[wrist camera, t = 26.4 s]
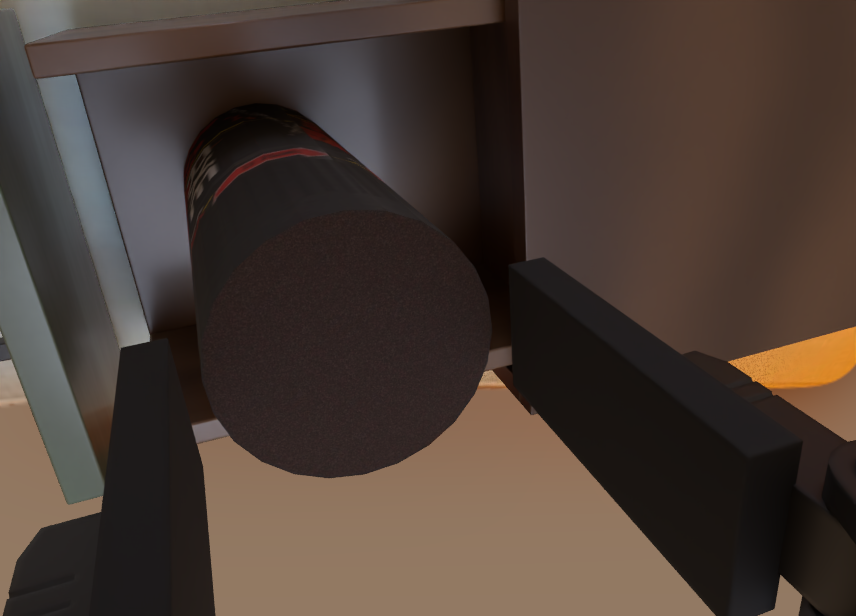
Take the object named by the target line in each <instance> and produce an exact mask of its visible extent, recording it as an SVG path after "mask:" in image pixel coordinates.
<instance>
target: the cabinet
mask: <svg viewBox="0 0 856 616" xmlns="http://www.w3.org/2000/svg"><path fill="white" fill-rule="evenodd" d="M505 23H506V48H507V74H508V99H509V125H510V150H511V175H512V201H513V226H514V252H515V263H518V262H523V261H528V260H532V259H537V258H542V257H544V258H546V259H547V260H549V261H550V262H551V263H553V264H554V265H556V266H557V267H559V268H560V269H561V270H563V271H564V272H566V273H567V274H568V275H570V276H571V277H573V278H574V279H575V280H577V281H578V282H580V283H581V284H583V285H584V286H585V287H587V288H588V289H590V290H591V291H592V292H594V293H595V294H597V295H598V296H600V297H601V298H602V299H604V300H605V301H607V302H608V303H609V304H611V305H612V306H614V307H615V308H616V309H618V310H619V311H621V312H622V313H624V314H625V315H626V316H628V317H629V318H631V319H632V320H633V321H635V322H636V323H638V324H639V325H640V326H642V327H643V328H645V329H646V330H648V331H649V332H650V333H652V334H653V335H655V336H656V337H657V338H659V339H660V340H662V341H663V342H665V343H666V344H667V345H669V346H670V347H672V348H673V349H674V350H676V351H677V352H679V353H680V354H684V353H688V352H692V351H698V352H701V353H704V354H706V355H709V356H712V357H715V358H718V359H721V360H723V361H726V362H727V361H731V360H735V359H738V358H742V357H746V356H749V355H753V354H757V353H760V352H764V351H768V350H771V349H775V348H779V347H782V346H786V345H789V344H793V343H797V342H800V341H804V340H808V339H811V338H815V337H819V336H822V335H826V334H830V333H833V332H837V331H841V330H844V329H848V328H852V327H855V326H856V0H505ZM492 370H493V372H494V373H495V374H496V375H497V376H498V377H499V379H500V380H501V381H502V382H503V383H504V384H505V385H506V387H507V388H508V389H509V390H510V391H511V392H512V394H513V395H514V396H515V397H516V398H517V399H518V401H520V403H521V404H522V405H523V406H524V407H525V409H526V410H527V411H528V412H529V413H530V414H531V415H534V414H538V413H537V412H536V411H535V410H534V408H533V407H532V406H531V405H530V404H529V403H528V402H527V400H526V399H525V398H524V397H523V396H522V395H521V394H520V392H519V391H518V390H517V389H516V388H515V387H514V386H513V370H512V365H508V366H504V367H500V368H496V369H492Z"/></svg>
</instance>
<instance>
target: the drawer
mask: <svg viewBox="0 0 856 616" xmlns="http://www.w3.org/2000/svg"><path fill="white" fill-rule="evenodd" d="M73 74H75V75H76V78H77V82H78V85H79V89H80V92H81V96H82V99H83V103H84V106H85V110H86V113H87V117H88V120H89V124H90V127H91V131H92V134H93V138H94V141H95V145H96V148H97V152H98V155H99V159H100V162H101V166H102V169H103V173H104V176H105V180H106V183H107V187H108V190H109V194H110V197H111V200H112V204H113V207H114V211H115V214H116V218H117V221H118V225H119V228H120V232H121V235H122V239H123V242H124V246H125V249H126V253H127V256H128V260H129V263H130V267H131V270H132V274H133V277H134V281H135V284H136V288H137V291H138V295H139V298H140V302H141V305H142V309H143V312H144V316H145V319H146V323H147V326H148V330H149V333H150V342H151V341H155V340H160V339H165V338H168V341H169V345H170V349H171V352H172V356H173V359H174V363H175V367H176V370H177V374H178V378H179V381H180V385H181V388H182V392H183V396H184V399H185V403H186V407H187V410H188V414H189V417H190V421H191V425H192V428H193V432H194V436H195V439H196V443H197V444H199V443H203V442H207V441H211V440H215V439H219V438H223V437H227V436H230V435H229V434H228V433H227V431H226V430H225V429H224V427H223V426H222V425H221V423H220V422H219V421H218V419H217V418H216V417H215V415H214V414H213V411H212V408H211V406H210V403H209V400H208V397H207V394H206V391H205V388H204V385H203V382H202V378H201V367H200V356H199V346H198V335H197V324H196V313H195V303H194V292H193V281H192V270H191V260H190V249H189V238H188V228H187V217H186V206H185V195H184V167H185V163H186V159H187V155H188V152H189V149H190V147H191V146H192V144H193V142H194V141H195V139H196V137H197V136H198V134H199V132H200V131H201V130H202V129H204V128H205V127H206V126H207V125H208V124H209V123H210V122H211V121H212V120H213V119H214V118H215V117H217V116H219V115H221V114H223V113H225V112H227V111H229V110H231V109H233V108H235V107H240V106H245V105H249V104H254V103H261V104H277V105H280V106H283V107H286V108H289V109H292V110H295V111H298V112H299V113H301V114H302V115H304V116H305V117H307V118H308V119H310V120H311V121H313V122H314V123H316V124H317V125H318V126H319V127H320V128H321V129H323V130H324V131H325V132H326V133H327V134H328V135H330V136H331V137H332V138H333V139H334V140H335V141H337V142H338V143H339V144H340V145H341V146H342V147H344V148H345V149H346V150H347V151H348V152H349V153H351V154H352V155H353V156H354V157H355V158H356V159H358V160H359V161H360V162H361V163H362V164H363V165H365V166H366V167H367V168H368V169H369V170H370V171H372V172H373V173H374V174H375V175H376V176H377V177H379V178H380V179H381V180H382V181H383V182H384V183H386V184H387V185H388V186H389V187H390V188H391V189H393V190H394V191H395V192H396V193H397V194H398V195H400V196H401V197H402V198H403V199H404V200H405V201H407V202H408V203H409V204H410V205H411V206H413V207H414V208H415V209H416V210H417V211H418V212H420V213H421V214H422V215H423V216H424V217H425V218H427V219H428V220H429V221H430V222H431V223H432V224H434V225H435V226H436V227H437V228H438V229H439V230H441V231H442V232H443V233H444V234H445V235H446V236H448V237H449V238H450V239H451V240H452V241H453V242H454V243H455V244H456V245H457V247H458V248H459V249H460V250H461V251H462V252H463V254H464V255H465V256H466V257H467V258H468V260H469V261H470V262H471V263H472V264H473V265H474V267H475V268H476V271H477V273H478V275H479V277H480V280H481V282H482V284H483V286H484V289H485V291H486V293H487V296H488V300H489V308H490V316H491V324H492V335H491V342H490V349H489V356H488V363H487V365H486V368H485V370H484V372H485V371H489V370H492V369H496V368H500V367H504V366H508V365H512V345H511V321H510V296H509V271H508V265H509V264H514V263H515V252H514V226H513V201H512V175H511V150H510V125H509V99H508V74H507V48H506V23H505V0H340V1H331V2H322V3H312V4H303V5H293V6H284V7H274V8H265V9H256V10H246V11H237V12H227V13H218V14H208V15H199V16H190V17H180V18H171V19H161V20H152V21H142V22H133V23H123V24H114V25H105V26H95V27H86V28H76V29H67V30H65V31H62V32H59V33H56V34H53V35H50V36H48V37H45V38H42V39H39V40H36V41H33V42H31V43H28V44H26V45H25V43H24V39H23V36H22V33H21V30H20V26H19V23H18V20H17V17H16V13H15V11H14V9H0V331H1V333H2V336H3V337H2V338H0V361H5V360H10V359H12V362H13V365H14V367H15V370H16V372H17V375H18V378H19V380H20V383H21V385H22V388H23V391H24V393H25V396H26V398H27V401H28V404H29V406H30V409H31V411H32V414H33V417H34V419H35V422H36V424H37V427H38V429H39V432H40V435H41V437H42V440H43V442H44V445H45V448H46V450H47V453H48V455H49V458H50V460H51V463H52V466H53V468H54V471H55V473H56V476H57V479H58V481H59V484H60V486H61V489H62V492H63V494H64V497H65V500H66V502H67V504H74V503H77V502H81V501H85V500H89V499H93V498H96V497H100V496H103V493H104V485H105V476H106V468H107V459H108V451H109V442H110V434H111V426H112V417H113V409H114V400H115V392H116V384H117V375H118V367H119V358H120V350H119V346H118V343H117V340H116V337H115V333H114V330H113V327H112V324H111V320H110V317H109V314H108V311H107V308H106V304H105V301H104V298H103V295H102V291H101V288H100V285H99V282H98V278H97V275H96V272H95V269H94V266H93V262H92V259H91V256H90V253H89V249H88V246H87V243H86V240H85V236H84V233H83V230H82V227H81V224H80V220H79V217H78V214H77V211H76V207H75V204H74V201H73V198H72V194H71V191H70V188H69V185H68V182H67V178H66V175H65V172H64V169H63V165H62V162H61V159H60V156H59V152H58V149H57V146H56V143H55V139H54V136H53V133H52V130H51V127H50V123H49V120H48V117H47V114H46V110H45V107H44V104H43V101H42V97H41V94H40V91H39V88H38V85H37V81H36V79H40V78H49V77H57V76H65V75H73Z"/></svg>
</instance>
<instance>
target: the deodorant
mask: <svg viewBox="0 0 856 616" xmlns="http://www.w3.org/2000/svg"><path fill="white" fill-rule="evenodd" d="M184 195H185V206H186V217H187V228H188V238H189V249H190V260H191V270H192V281H193V292H194V303H195V313H196V324H197V335H198V346H199V356H200V367H201V378H202V382H203V385H204V388H205V391H206V394H207V397H208V400H209V403H210V406H211V408H212V411H213V414H214V415H215V417H216V418H217V419H218V421H219V422H220V423H221V425H222V426H223V427H224V429H225V430H226V431H227V433H228V434H229V435H230V437H231V438H232V439H233V441H234V442H236V443H237V444H238V445H240V446H241V447H243V448H244V449H245V450H247V451H248V452H249V453H251V454H252V455H253V456H255V457H256V458H258V459H259V460H260V461H262V462H264V463H267V464H269V465H272V466H275V467H277V468H280V469H282V470H285V471H288V472H290V473H293V474H298V475H307V476H315V477H324V478H335V477H344V476H353V475H363V474H367V473H370V472H373V471H376V470H379V469H382V468H385V467H387V466H391V465H394V464H397V463H399V462H401V461H403V460H404V459H406V458H408V457H409V456H411V455H413V454H415V453H416V452H418V451H420V450H422V449H423V448H425V447H427V446H428V445H430V444H431V443H432V442H433V441H434V440H435V439H436V438H437V437H439V436H440V435H441V434H442V433H443V432H444V431H445V430H446V429H447V428H448V427H449V426H451V425H452V424H453V423H454V422H455V421H456V419H457V418H458V416H459V415H460V414H461V412H462V411H463V410H464V408H465V407H466V405H467V404H468V403H469V401H470V400H471V398H472V397H473V396H474V394H475V392H476V390H477V387H478V385H479V382H480V380H481V377H482V375H483V372H484V370H485V368H486V365H487V363H488V356H489V349H490V342H491V335H492V324H491V316H490V308H489V300H488V296H487V293H486V291H485V289H484V286H483V284H482V282H481V280H480V277H479V275H478V273H477V271H476V268H475V267H474V265H473V264H472V263H471V262H470V261H469V260H468V258H467V257H466V256H465V255H464V254H463V252H462V251H461V250H460V249H459V248H458V247H457V245H456V244H455V243H454V242H453V241H452V240H451V239H450V238H449V237H448V236H446V235H445V234H444V233H443V232H442V231H441V230H439V229H438V228H437V227H436V226H435V225H434V224H432V223H431V222H430V221H429V220H428V219H427V218H425V217H424V216H423V215H422V214H421V213H420V212H418V211H417V210H416V209H415V208H414V207H413V206H411V205H410V204H409V203H408V202H407V201H405V200H404V199H403V198H402V197H401V196H400V195H398V194H397V193H396V192H395V191H394V190H393V189H391V188H390V187H389V186H388V185H387V184H386V183H384V182H383V181H382V180H381V179H380V178H379V177H377V176H376V175H375V174H374V173H373V172H372V171H370V170H369V169H368V168H367V167H366V166H365V165H363V164H362V163H361V162H360V161H359V160H358V159H356V158H355V157H354V156H353V155H352V154H351V153H349V152H348V151H347V150H346V149H345V148H344V147H342V146H341V145H340V144H339V143H338V142H337V141H335V140H334V139H333V138H332V137H331V136H330V135H328V134H327V133H326V132H325V131H324V130H323V129H321V128H320V127H319V126H318V125H317V124H316V123H314V122H313V121H311V120H310V119H308V118H307V117H305V116H304V115H302V114H301V113H299V112H298V111H295V110H292V109H289V108H286V107H283V106H280V105H277V104H261V103H254V104H249V105H245V106H240V107H235V108H233V109H231V110H229V111H227V112H225V113H223V114H221V115H219V116H217V117H215V118H214V119H213V120H212V121H211V122H210V123H209V124H208V125H207V126H206V127H205V128H204V129H202V130H201V131H200V132H199V134H198V136H197V137H196V139H195V141H194V142H193V144H192V146H191V147H190V149H189V152H188V155H187V159H186V163H185V167H184Z"/></svg>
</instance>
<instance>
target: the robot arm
mask: <svg viewBox="0 0 856 616" xmlns="http://www.w3.org/2000/svg"><path fill="white" fill-rule="evenodd" d="M508 271H509V296H510V321H511V345H512V370H513V386H514V387H515V388H516V389H517V390H518V391H519V392H520V394H521V395H522V396H523V397H524V398H525V399H526V400H527V402H528V403H529V404H530V405H531V406H532V407H533V408H534V410H535V411H536V412H537V413H538V414H539V415H540V416H541V417H542V418H543V420H544V421H545V422H546V423H547V424H548V425H549V427H550V428H551V429H552V430H553V431H554V432H555V433H556V434H557V436H558V437H559V438H560V439H561V440H562V441H563V442H564V444H565V445H566V446H567V447H568V448H569V449H570V450H571V452H572V453H573V454H574V455H575V456H576V457H577V458H578V460H579V461H580V462H581V463H582V464H583V465H584V466H585V467H586V468H587V470H588V471H589V472H590V473H591V474H592V475H593V477H594V478H595V479H596V480H597V481H598V482H599V483H600V484H601V486H602V487H603V488H604V489H605V490H606V491H607V492H608V494H609V495H610V496H611V497H612V498H613V499H614V500H615V502H616V503H617V504H618V505H619V506H620V507H621V508H622V510H623V511H624V512H625V513H626V514H627V515H628V516H629V517H630V519H631V520H632V521H633V522H634V523H635V524H636V525H637V527H638V528H640V530H641V531H642V532H643V533H644V534H645V536H646V537H647V538H648V539H649V540H650V541H651V542H652V544H653V545H654V546H655V547H656V548H657V549H658V550H659V551H660V553H661V554H662V555H663V556H664V557H665V558H666V560H667V561H668V562H669V563H670V564H671V565H672V566H673V567H674V569H675V570H677V572H678V573H679V574H680V575H681V577H682V578H683V579H684V580H685V581H686V582H687V583H688V584H689V586H690V587H691V588H692V589H693V590H694V591H695V592H696V594H697V595H698V596H699V597H700V598H701V599H702V600H703V602H704V603H705V604H706V605H707V606H708V607H709V608H710V610H711V611H712V612H713V613H714V614H715V615H716V616H758V615H760V614H763V613H765V612H768V611H771V610H773V609H774V608H775V603H776V597H777V591H778V585H779V579H780V575H782V576H783V577H784V578H785V579H786V580H787V581H788V582H789V583H790V584H791V585H792V586H793V587H794V588H795V589H796V590H797V591H798V592H799V593H800V594H801V595H802V601H801V606H800V611H799V616H856V440H854V441H850V442H847V441H846V440H844V439H842V438H841V437H839V436H838V435H837V434H835V433H833V432H832V431H831V430H829V429H828V428H826V427H824V426H823V425H822V424H820V423H818V422H817V421H816V420H814V419H812V418H811V417H810V416H808V415H806V414H805V413H804V412H802V411H801V410H799V409H797V408H796V407H794V406H793V405H791V404H790V403H788V402H787V401H785V400H784V399H782V398H781V397H779V396H778V395H775V396H773V395H772V391H770V390H769V389H767V388H766V387H764V386H763V385H761V384H760V383H758V382H757V381H755V382H753V381H752V378H751V377H749V376H748V375H746V374H745V373H743V372H742V371H740V370H739V369H737V368H736V367H734V366H733V365H731V364H730V363H728V362H726V361H723V360H721V359H718V358H715V357H712V356H709V355H706V354H704V353H701V352H698V351H692V352H688V353H684V354H680V353H679V352H677V351H676V350H674V349H673V348H672V347H670V346H669V345H667V344H666V343H665V342H663V341H662V340H660V339H659V338H657V337H656V336H655V335H653V334H652V333H650V332H649V331H648V330H646V329H645V328H643V327H642V326H640V325H639V324H638V323H636V322H635V321H633V320H632V319H631V318H629V317H628V316H626V315H625V314H624V313H622V312H621V311H619V310H618V309H616V308H615V307H614V306H612V305H611V304H609V303H608V302H607V301H605V300H604V299H602V298H601V297H600V296H598V295H597V294H595V293H594V292H592V291H591V290H590V289H588V288H587V287H585V286H584V285H583V284H581V283H580V282H578V281H577V280H575V279H574V278H573V277H571V276H570V275H568V274H567V273H566V272H564V271H563V270H561V269H560V268H559V267H557V266H556V265H554V264H553V263H551V262H550V261H549V260H547V259H546V258H544V257H542V258H537V259H532V260H528V261H523V262H518V263H514V264H509V265H508ZM102 502H103V503H102V510H101V512H100V513H96V514H92V515H88V516H85V517H81V518H77V519H73V520H70V521H66V522H62V523H59V524H55V525H51V526H48V527H44V528H41V529H40V530H39V532H38V533H37V534H36V536H35V537H34V539H33V540H32V541H31V542H30V544H29V545H28V546H27V548H26V549H25V550H24V552H23V553H22V554H21V556H20V557H19V558H18V560H17V562H16V566H15V570H14V574H13V578H12V582H11V586H10V590H9V599H7V601H6V605H5V609H4V613H3V616H215V606H214V594H213V582H212V570H211V558H210V545H209V533H208V522H207V509H206V497H205V485H204V473H203V465H202V461H201V457H200V454H199V450H198V446H197V443H196V439H195V436H194V432H193V428H192V425H191V421H190V417H189V414H188V410H187V407H186V403H185V399H184V396H183V392H182V388H181V385H180V381H179V378H178V374H177V370H176V367H175V363H174V359H173V356H172V352H171V349H170V345H169V341H168V338H165V339H160V340H155V341H151V342H146V343H141V344H137V345H132V346H127V347H123V348H121V350H120V358H119V367H118V375H117V384H116V392H115V400H114V409H113V417H112V426H111V434H110V442H109V451H108V459H107V468H106V476H105V485H104V493H103V501H102Z"/></svg>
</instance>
